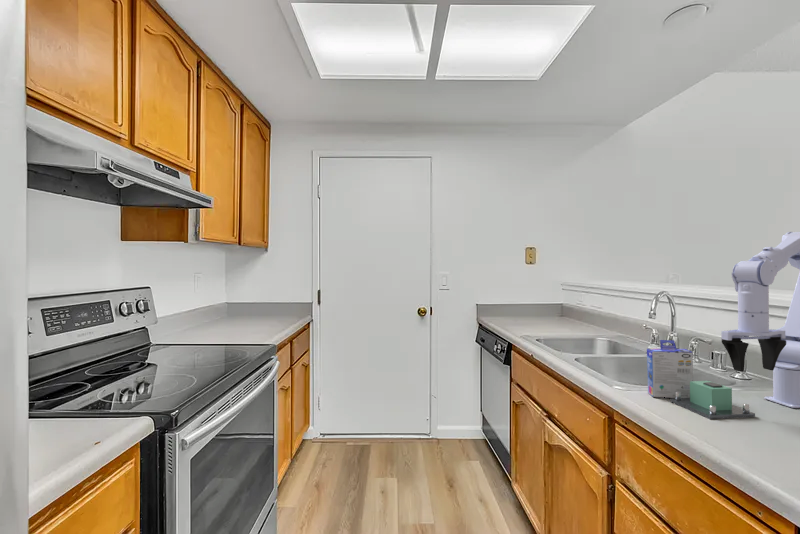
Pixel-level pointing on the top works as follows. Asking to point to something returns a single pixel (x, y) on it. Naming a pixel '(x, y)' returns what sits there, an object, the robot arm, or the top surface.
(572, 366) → the top surface
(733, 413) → the chassis
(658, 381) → the ink cartridge box
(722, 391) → the block
